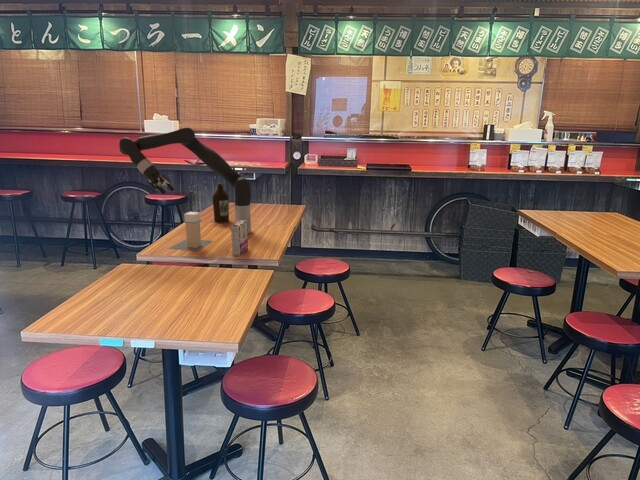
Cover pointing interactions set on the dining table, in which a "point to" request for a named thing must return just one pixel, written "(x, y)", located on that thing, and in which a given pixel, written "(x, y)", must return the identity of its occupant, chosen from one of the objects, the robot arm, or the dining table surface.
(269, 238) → the dining table surface
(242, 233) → the candy bar box
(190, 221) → the carton lid
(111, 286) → the dining table surface
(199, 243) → the kraft carton
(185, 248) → the packing mat
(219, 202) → the olive oil
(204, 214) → the dining table surface
